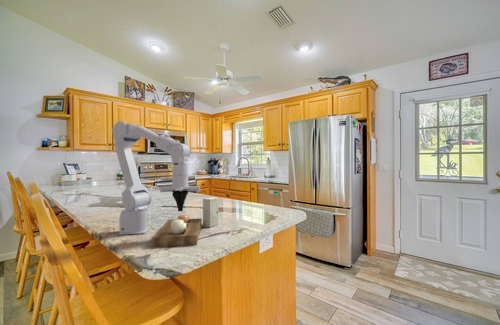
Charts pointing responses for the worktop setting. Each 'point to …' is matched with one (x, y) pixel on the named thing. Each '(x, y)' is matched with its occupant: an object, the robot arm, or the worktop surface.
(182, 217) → the rust plug
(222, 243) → the worktop surface
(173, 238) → the board
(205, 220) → the skincare box
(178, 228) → the white rounded cylinder
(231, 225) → the worktop surface
